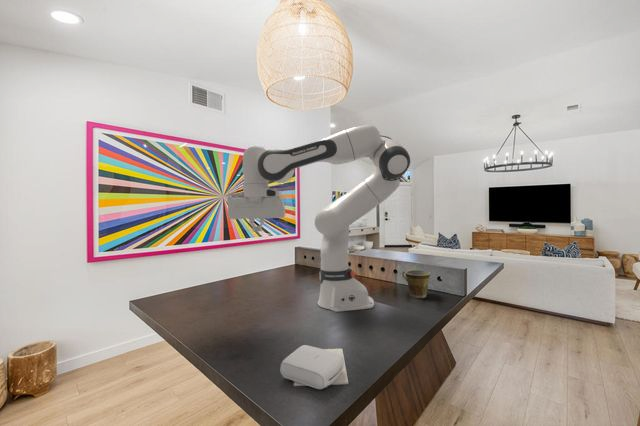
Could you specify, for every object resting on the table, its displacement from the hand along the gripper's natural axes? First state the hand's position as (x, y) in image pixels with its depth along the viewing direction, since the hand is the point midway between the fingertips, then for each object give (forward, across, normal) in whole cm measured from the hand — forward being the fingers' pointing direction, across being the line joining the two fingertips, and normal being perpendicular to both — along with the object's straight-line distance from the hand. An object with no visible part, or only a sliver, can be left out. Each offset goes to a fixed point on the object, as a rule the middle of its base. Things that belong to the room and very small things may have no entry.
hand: (257, 231), depth 102 cm
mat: (+31, +21, -33) cm, 50 cm away
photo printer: (+29, +15, -34) cm, 47 cm away
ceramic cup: (+31, +63, +20) cm, 73 cm away
